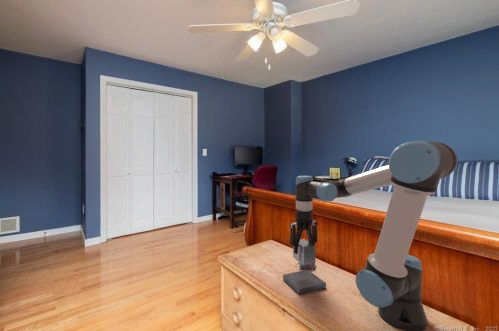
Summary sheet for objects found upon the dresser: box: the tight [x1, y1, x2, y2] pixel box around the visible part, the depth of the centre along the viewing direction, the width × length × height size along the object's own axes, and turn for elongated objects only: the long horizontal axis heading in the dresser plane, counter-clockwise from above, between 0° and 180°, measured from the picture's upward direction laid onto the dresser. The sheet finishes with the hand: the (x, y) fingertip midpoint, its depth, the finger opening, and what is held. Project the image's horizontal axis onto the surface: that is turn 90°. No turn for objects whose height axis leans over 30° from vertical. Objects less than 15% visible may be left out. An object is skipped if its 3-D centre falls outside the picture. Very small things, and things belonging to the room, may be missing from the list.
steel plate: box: [282, 269, 327, 296], centre depth 113 cm, size 14×14×2 cm
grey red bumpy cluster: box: [297, 261, 316, 270], centre depth 131 cm, size 11×10×11 cm
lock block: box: [292, 238, 316, 265], centre depth 112 cm, size 9×6×8 cm, turn 21°
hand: (303, 259), depth 112 cm, fingers closed on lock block, 6 cm apart
